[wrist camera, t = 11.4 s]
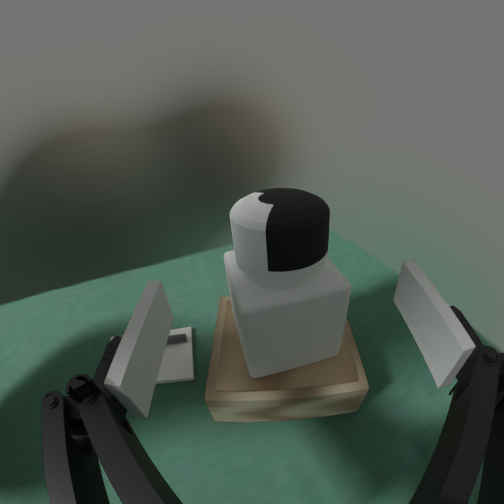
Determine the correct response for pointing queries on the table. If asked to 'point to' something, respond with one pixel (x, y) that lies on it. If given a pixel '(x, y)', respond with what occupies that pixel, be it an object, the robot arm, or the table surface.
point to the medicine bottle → (284, 281)
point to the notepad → (177, 357)
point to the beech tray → (280, 381)
